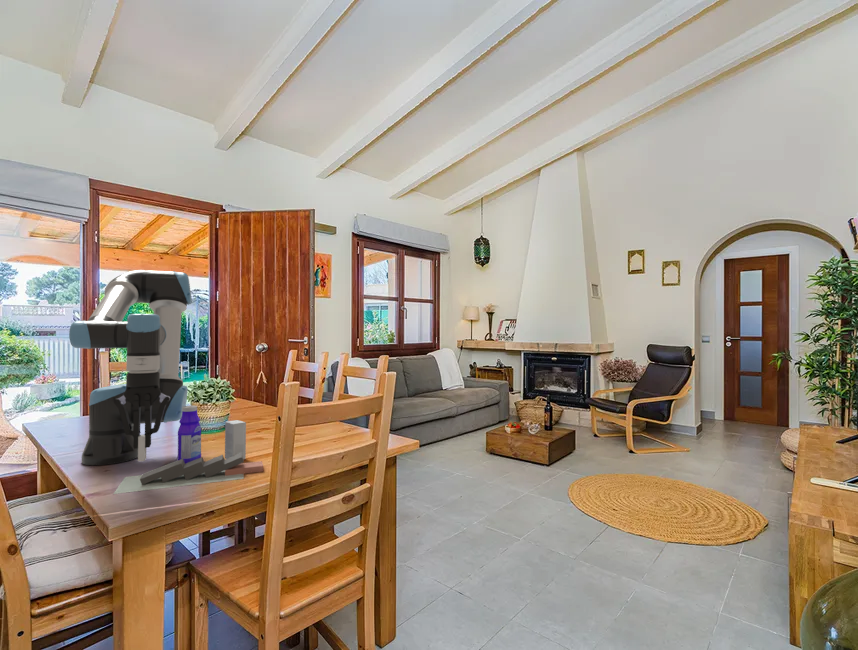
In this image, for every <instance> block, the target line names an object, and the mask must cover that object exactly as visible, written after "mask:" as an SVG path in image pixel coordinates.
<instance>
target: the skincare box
mask: <svg viewBox="0 0 858 650" xmlns="http://www.w3.org/2000/svg"><path fill="white" fill-rule="evenodd" d="M224 423H225V425H224V426H225V427H224V459H227V458H230V457H232V456H235V455H237V454H240V453H242V456H243V460H246V459H247V458H246V457H247V456H246V454H247V453H246V452H247V449H246V448H247V447H246V444H247V422H246V421H242V420H240V419H239V420H238V419H237V420H227V421H225V422H224Z"/></svg>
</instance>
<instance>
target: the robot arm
mask: <svg viewBox="0 0 858 650" xmlns="http://www.w3.org/2000/svg"><path fill="white" fill-rule="evenodd" d="M190 284H191V283H190V279H189V276H188V274H187V273H185V272H182V271H175V270H173V271H169V270H168V271H167V270H165V271H164V270H146V269H138V270H135V269H134V270H130V271H127V272H125V273H122V274H119V275H118V276H116V277H114V278H113V279H112V280H110V281H109V282H108V283H107V285H106V286H105V288H104V292H103V293H104V295H103V297H102V299H101V301H100V302H99V303H98V305H97V306H96V308H94V311H93V312H92V314H91V315H90V316H89V318H88V319H87V320H77V321H73V322H72V323H71V324H70V327H69V331H68V333H69V336H68V338H69V343H70V345H71V346H72V347H73V348H75V349H88V350H91V349H93V350H94V349H126V366H125V368H126V371H127V374H126V378H125V379H126V381H125V383H121V384H120V383H119V384H114V385H107V386H103V387H99V388H96V389H94V390H92V391H91V392H90V395H89V403H88V406H89V409H88V412H89V413H88V438H87V441H86V444H85V446H84V449H83V451H82V453H81V464H83V465H86V466H105V465H106V466H107V465H115V464H119V463H125V462H127V461H128V462H129V461H131V460H134V459H136V458H137V462H145V461H146V459H147V448H150V447H151V445H152V435H153V434H156V433H158V432H159V430H160V427H161V423H164V424H167V423H169V422H179V421H180V419H181V417H182V407H184V406H187V399H188V392H189V390H188V389H189V388H188V386H187V385H184V381H183V379H181V378H180V376H179V372H180V371H179V369H180V350H181V331H182V330H181V329H182V313H184V312H185V311H186V310H187V308H188V307H187V305H191V304H192V302H193V301H192V293H191V285H190ZM140 303H141V304H149V305H148V307H149V308H150V310H152V311H153V313H130V314H129V315H127V319H126V320H127V321H124V319H125V317H126V314H127V313H128V311H129V309H130V307H132V306H133V305H134V304H140ZM153 423H154V424H153ZM152 424H153V427H152ZM141 425H144V434H142V433H141Z"/></svg>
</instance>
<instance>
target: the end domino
mask: <svg viewBox="0 0 858 650" xmlns="http://www.w3.org/2000/svg"><path fill="white" fill-rule="evenodd" d="M260 472H264V463H263V461H262V460H261V461H260V460H259V461H252V462H251V461H249V462H243V463H241V464H238V465H236V466H234V467H231V468H229V469H227V470H225V476H227V475H236V474H252V473H260Z"/></svg>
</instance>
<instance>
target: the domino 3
mask: <svg viewBox="0 0 858 650" xmlns="http://www.w3.org/2000/svg"><path fill="white" fill-rule="evenodd" d="M224 460H225V456H224V455H223V454H221V455H218V456H216V457H213V458H211V459H209V460H208V459H207V460H205V461H204V465H203V467H202V468H199V469H197V470H194V471H192V472H189V473H187V474H184V477H185V479H186V480H188V479H190V478H193V477H195V476H197V475H200V474H202V473H205V472H207V471H210V470H212V469H214V468H217V467H219V466H222V465H224Z"/></svg>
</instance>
